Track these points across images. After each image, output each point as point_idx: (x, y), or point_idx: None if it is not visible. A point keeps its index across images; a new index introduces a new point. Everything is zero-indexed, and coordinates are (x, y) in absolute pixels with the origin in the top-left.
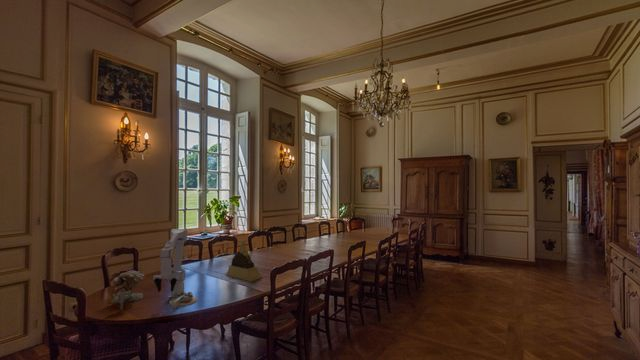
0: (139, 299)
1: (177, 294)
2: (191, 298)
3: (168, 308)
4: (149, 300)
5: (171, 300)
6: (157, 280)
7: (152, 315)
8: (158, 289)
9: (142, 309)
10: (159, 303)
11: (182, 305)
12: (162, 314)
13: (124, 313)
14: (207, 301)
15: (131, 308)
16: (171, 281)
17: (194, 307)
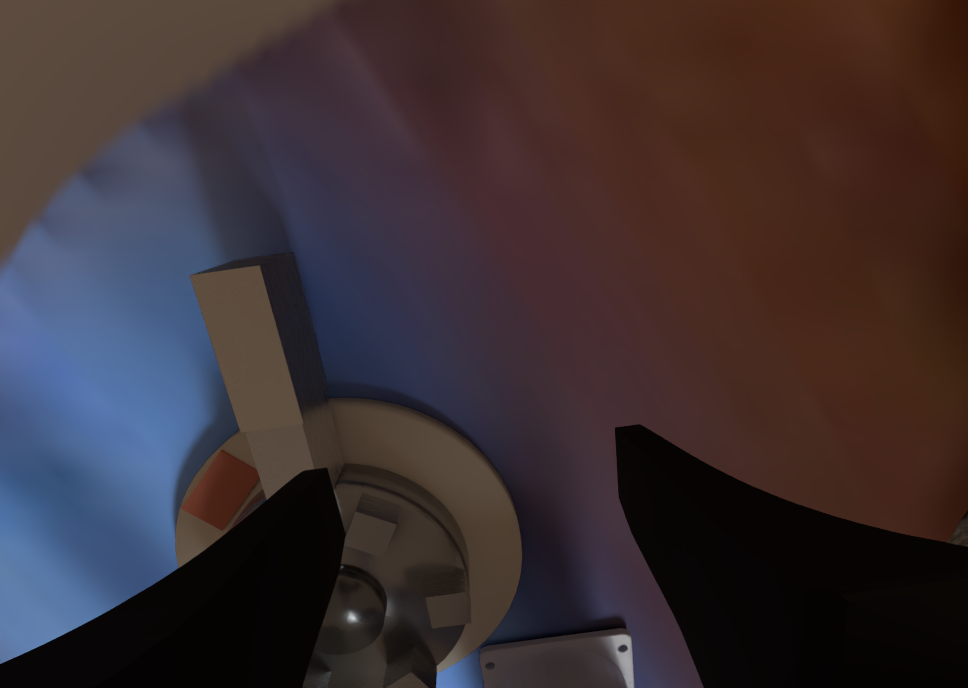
0: (953, 536)
1: (430, 617)
2: None
3: (401, 313)
4: None
5: (500, 527)
6: (867, 668)
7: (469, 15)
8: (646, 444)
9: (752, 230)
10: None
11: None
12: (338, 78)
13: (951, 41)
14: (55, 590)
15: (928, 245)
16: (50, 683)
17: (65, 393)
